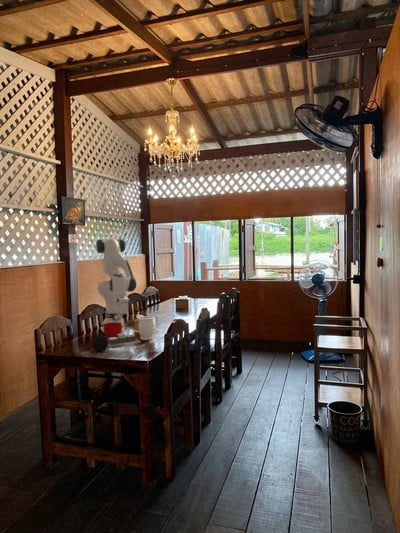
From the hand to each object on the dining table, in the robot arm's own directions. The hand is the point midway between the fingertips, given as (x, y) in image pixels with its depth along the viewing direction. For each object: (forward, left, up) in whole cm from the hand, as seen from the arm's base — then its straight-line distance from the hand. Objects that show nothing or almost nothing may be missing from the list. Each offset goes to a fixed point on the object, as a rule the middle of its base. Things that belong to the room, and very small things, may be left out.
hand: (120, 318), depth 260 cm
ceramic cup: (-18, +3, -17) cm, 25 cm away
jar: (-3, +20, -17) cm, 26 cm away
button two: (0, 0, -13) cm, 13 cm away
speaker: (+10, -17, -17) cm, 26 cm away
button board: (0, +1, -17) cm, 17 cm away
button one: (0, -5, -15) cm, 16 cm away
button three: (0, +7, -15) cm, 16 cm away
